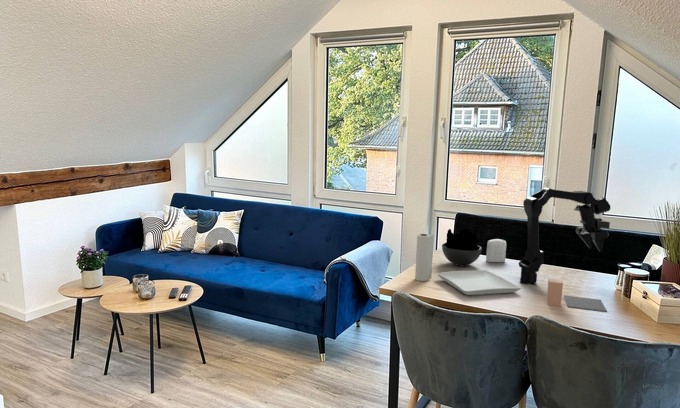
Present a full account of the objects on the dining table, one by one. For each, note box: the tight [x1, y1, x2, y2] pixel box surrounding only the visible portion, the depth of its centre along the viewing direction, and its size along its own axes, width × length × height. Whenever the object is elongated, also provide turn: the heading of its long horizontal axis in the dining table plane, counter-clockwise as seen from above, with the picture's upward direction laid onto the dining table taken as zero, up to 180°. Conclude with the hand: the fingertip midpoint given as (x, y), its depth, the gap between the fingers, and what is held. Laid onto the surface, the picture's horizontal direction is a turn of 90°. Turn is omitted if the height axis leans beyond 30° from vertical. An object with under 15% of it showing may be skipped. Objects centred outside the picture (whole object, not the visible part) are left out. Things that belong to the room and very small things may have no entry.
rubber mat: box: [563, 294, 608, 313], centre depth 197 cm, size 14×14×1 cm
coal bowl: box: [441, 228, 483, 267], centre depth 250 cm, size 20×20×19 cm
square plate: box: [435, 269, 522, 296], centre depth 216 cm, size 27×27×4 cm
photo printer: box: [485, 238, 507, 263], centre depth 259 cm, size 10×4×12 cm, turn 98°
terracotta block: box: [546, 278, 564, 307], centre depth 195 cm, size 5×4×10 cm
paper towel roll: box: [414, 233, 435, 282], centre depth 222 cm, size 7×6×21 cm
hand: (595, 249), depth 225 cm, fingers open, 9 cm apart
